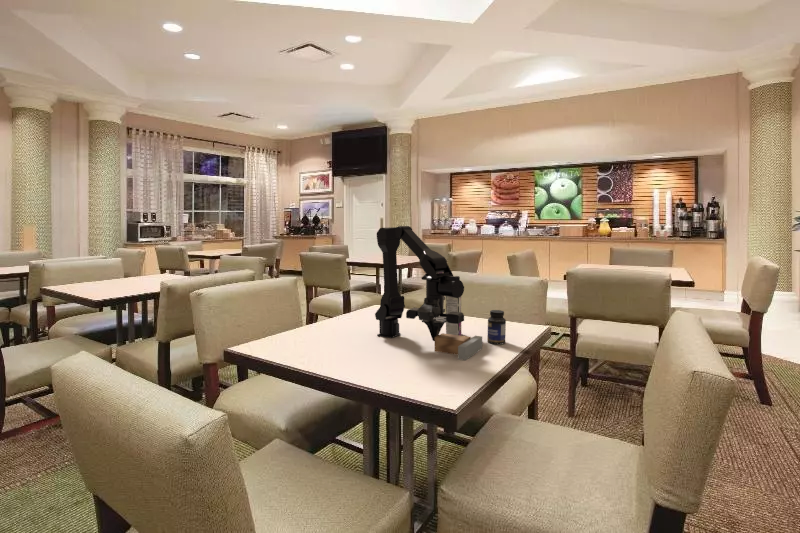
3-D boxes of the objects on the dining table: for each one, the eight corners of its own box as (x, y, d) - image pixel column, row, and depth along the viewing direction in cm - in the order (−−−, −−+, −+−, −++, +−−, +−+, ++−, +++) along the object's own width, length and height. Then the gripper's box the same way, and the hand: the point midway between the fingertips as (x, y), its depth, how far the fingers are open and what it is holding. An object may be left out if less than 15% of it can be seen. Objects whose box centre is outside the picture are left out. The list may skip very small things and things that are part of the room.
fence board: (458, 359, 145) (458, 346, 145) (475, 347, 158) (475, 335, 158) (465, 360, 144) (465, 347, 144) (482, 348, 157) (482, 336, 157)
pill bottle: (483, 342, 164) (484, 311, 163) (493, 339, 169) (493, 308, 168) (499, 345, 160) (500, 313, 159) (508, 342, 164) (509, 311, 163)
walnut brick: (434, 352, 154) (434, 337, 153) (442, 347, 159) (442, 333, 159) (463, 356, 149) (463, 341, 149) (470, 351, 154) (470, 336, 154)
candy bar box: (448, 333, 178) (448, 289, 176) (461, 333, 177) (462, 290, 175) (445, 340, 167) (445, 294, 166) (459, 341, 166) (459, 295, 165)
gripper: (397, 295, 153) (398, 343, 155) (451, 300, 144) (451, 350, 145) (413, 291, 163) (413, 335, 164) (465, 295, 153) (464, 342, 155)
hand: (434, 340), depth 157 cm, fingers closed
